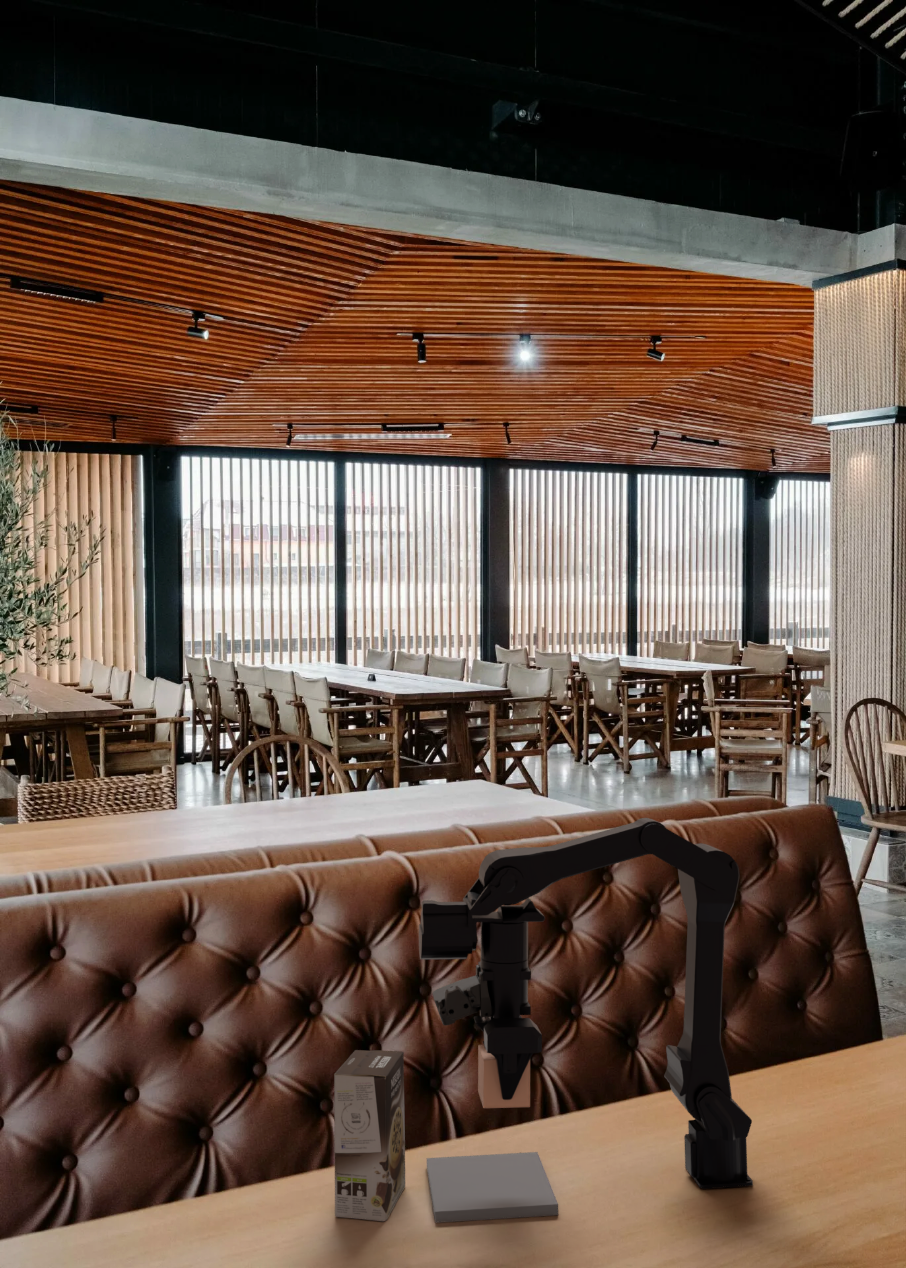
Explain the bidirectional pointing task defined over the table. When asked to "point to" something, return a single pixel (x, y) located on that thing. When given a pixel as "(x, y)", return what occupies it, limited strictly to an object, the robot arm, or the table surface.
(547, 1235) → the table surface
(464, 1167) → the slate board
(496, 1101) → the terracotta block
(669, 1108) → the table surface
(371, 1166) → the coffee box
